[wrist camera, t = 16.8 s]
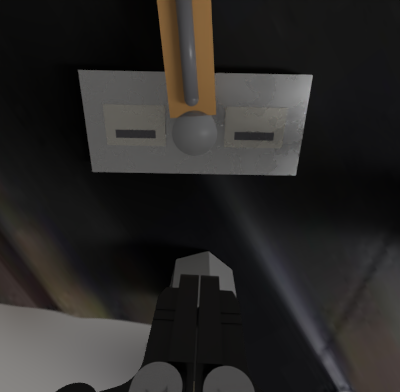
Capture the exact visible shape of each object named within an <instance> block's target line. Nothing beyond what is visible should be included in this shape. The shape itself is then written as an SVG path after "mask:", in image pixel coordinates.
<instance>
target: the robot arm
mask: <svg viewBox="0 0 400 392" xmlns="http://www.w3.org/2000/svg"><path fill="white" fill-rule="evenodd" d="M198 286H199V275H189V274H181V275H180V282H179V288H174V287H166V288H165V289H164V290H163V292H162V293H161V294H160V295H159V297H158V300H157V305H156V310H155V313H154V317H153V322H152V326H151V330H150V335H149V339H148V343H147V347H146V352H145V356H144V360H143V363H142V366H141V368H140V369H139V371H138V372H137V373H136V375H135V376H134V377H133V378H132V379H130V380H129V381H128V382H126V383H124V384H122V385H120V386H117V387H114V388H111V389H107V390H104V391H100V392H193V377H194V359H195V341H196V323H197V305H198ZM56 392H96V391H95V390H94V388H93V387H91V386H90V385H88V384H85V383H73V384H69V385H66V386H65V387H62V388H61V389H59V390H58V391H56ZM195 392H263V391H262V390H261V389H260V388H259V387H258V386H257V385H256V384H255V383H254V381H253V380H252V378H251V376H250V374H249V371H248V367H247V360H246V353H245V345H244V337H243V329H242V321H241V313H240V305H239V301H238V299H237V297H236V296H235V294H234V293H233V291H227V290H220V284H219V276H208V275H201V279H200V297H199V315H198V335H197V356H196V376H195Z"/></svg>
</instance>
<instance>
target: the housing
mask: <svg viewBox="0 0 400 392" xmlns="http://www.w3.org/2000/svg"><path fill="white" fill-rule="evenodd" d="M78 73H79V80H80V87H81V94H82V101H83V108H84V115H85V122H86V129H87V136H88V143H89V150H90V157H91V164H92V171H93V172H128V173H182V174H237V175H291V176H296V172H297V166H298V160H299V154H300V148H301V142H302V136H303V130H304V124H305V118H306V112H307V106H308V100H309V95H310V89H311V83H312V77H313V75H288V74H242V73H214V77H215V99H216V115H211V116H212V117H213V119H214V122H215V125H216V128H217V138H216V142H215V144H214V145H213V147H212V148H211V149H210V150H209V151H208V152H206V153H205V154H202V155H198V156H191V155H187V154H185V153H183V152H181V151H180V150H179V149H178V148H177V147H176V145H175V143H174V141H173V138H172V128H173V125H174V123H175V121H176V119H177V118H170V112H169V103H168V95H167V86H166V77H165V72H149V71H103V70H78Z"/></svg>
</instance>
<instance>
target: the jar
mask: <svg viewBox="0 0 400 392" xmlns="http://www.w3.org/2000/svg"><path fill="white" fill-rule="evenodd" d="M181 274H189V275H199V286H198V305H197V323H196V341H195V359H194V377H193V381H195V376H196V356H197V335H198V315H199V297H200V279H201V275H208V276H219V284H220V290H227V291H233V293H234V294H235V296H236V292H235V286H234V280H233V274H232V269H230V268H229V267H228V266H227V265H225V264H224V263H223V262H222V261H220V260H219V259H218V258H217V257H215V256H214V255H213V254H212V253H210V252H209V251H206V252H202V253H199V254H195V255H191V256H187V257H183V258H179V259H176V262H175V266H174V270H173V275H172V279H171V283H170V287H174V288H179V282H180V275H181Z"/></svg>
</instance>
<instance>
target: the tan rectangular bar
mask: <svg viewBox="0 0 400 392" xmlns="http://www.w3.org/2000/svg"><path fill="white" fill-rule="evenodd" d="M157 5H158V14H159V23H160V32H161V41H162V50H163V59H164V68H165V77H166V86H167V95H168V103H169V112H170V118H177V119H176V121H175V123H174V125H173V128H172V138H173V141H174V143H175V145H176V147H177V148H178V149H179V150H180V151H181V152H183V153H185V154H187V155H191V156H198V155H202V154H205V153H206V152H208V151H209V150H210V149H211V148H212V147H213V145H214V144H215V142H216V138H217V128H216V125H215V122H214V119H213V117H212V116H211V115H216V99H215V77H214V56H213V35H212V13H211V0H157Z"/></svg>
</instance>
